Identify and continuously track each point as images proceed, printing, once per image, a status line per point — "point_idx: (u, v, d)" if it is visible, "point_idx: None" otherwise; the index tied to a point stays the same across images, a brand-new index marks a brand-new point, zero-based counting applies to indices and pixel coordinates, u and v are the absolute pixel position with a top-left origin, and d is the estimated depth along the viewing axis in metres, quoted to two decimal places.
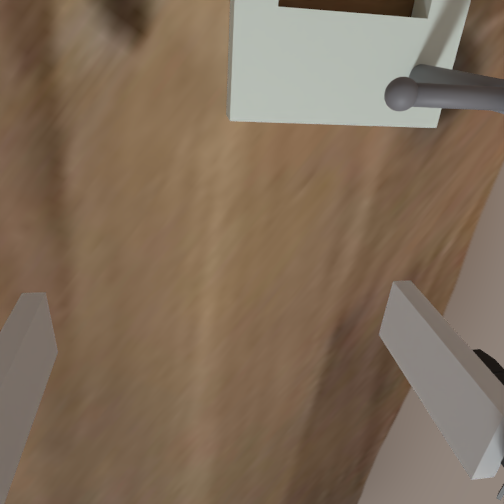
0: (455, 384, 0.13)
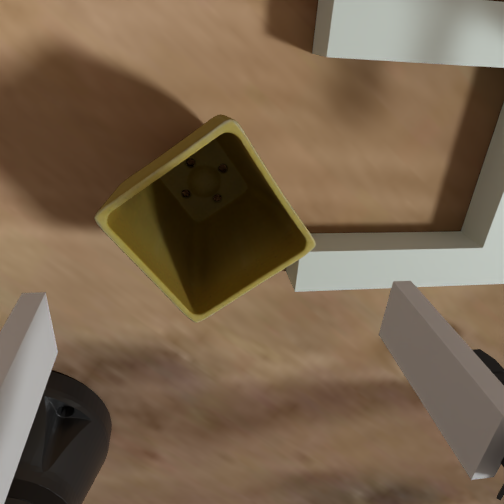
0: (455, 384, 0.13)
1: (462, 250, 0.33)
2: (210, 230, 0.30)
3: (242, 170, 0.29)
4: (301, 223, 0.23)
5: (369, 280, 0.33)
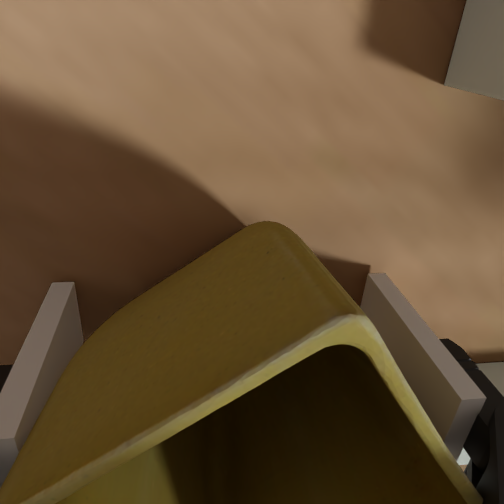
0: (421, 371, 0.13)
1: None
2: None
3: None
4: (475, 493, 0.10)
5: None
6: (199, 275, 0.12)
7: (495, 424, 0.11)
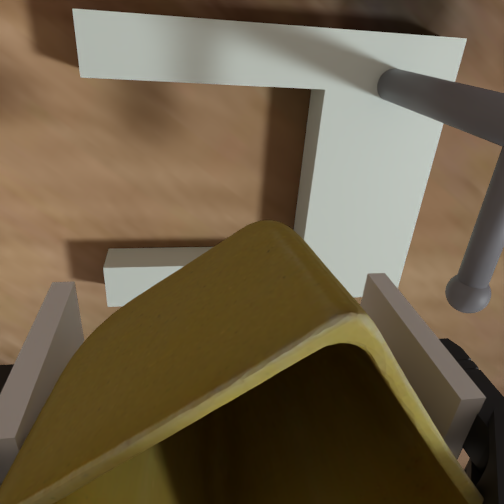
0: (420, 371, 0.13)
1: None
2: None
3: None
4: (476, 493, 0.10)
5: None
6: (199, 274, 0.12)
7: (494, 424, 0.11)
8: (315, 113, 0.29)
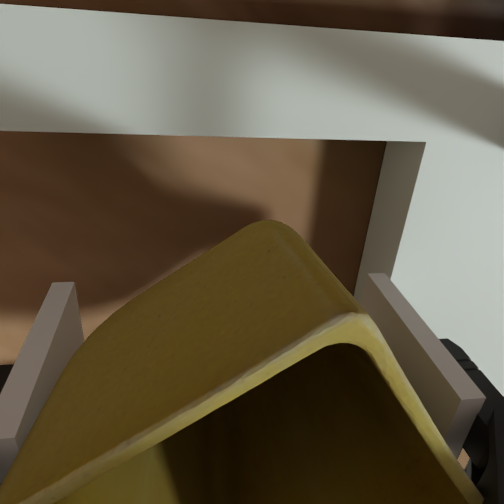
0: (420, 371, 0.13)
1: None
2: None
3: None
4: (476, 493, 0.10)
5: None
6: (199, 274, 0.12)
7: (494, 424, 0.11)
8: (399, 175, 0.18)
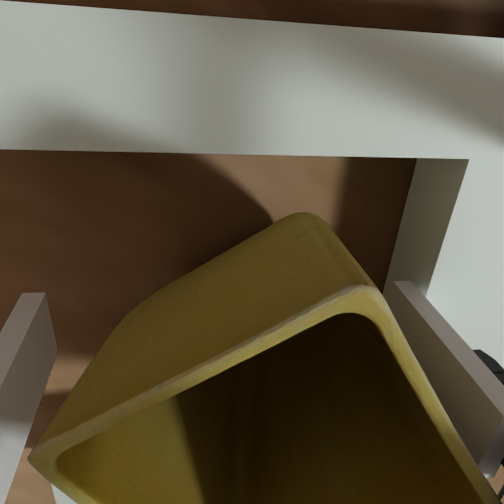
0: (455, 384, 0.13)
1: None
2: (269, 375, 0.18)
3: None
4: (484, 482, 0.10)
5: None
6: (234, 257, 0.13)
7: None
8: (433, 194, 0.16)
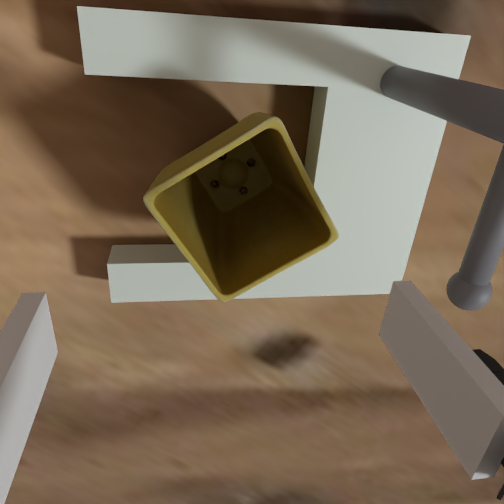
0: (455, 384, 0.13)
1: None
2: (235, 220, 0.33)
3: (269, 165, 0.31)
4: (328, 216, 0.25)
5: (188, 291, 0.33)
6: (221, 133, 0.27)
7: None
8: (318, 110, 0.29)
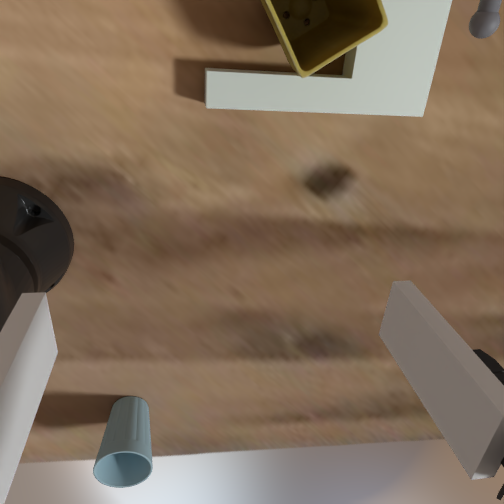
0: (455, 384, 0.13)
1: (335, 80, 0.43)
2: (301, 43, 0.43)
3: None
4: (381, 3, 0.35)
5: (264, 102, 0.43)
6: None
7: None
8: None
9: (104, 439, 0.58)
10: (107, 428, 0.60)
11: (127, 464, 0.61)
